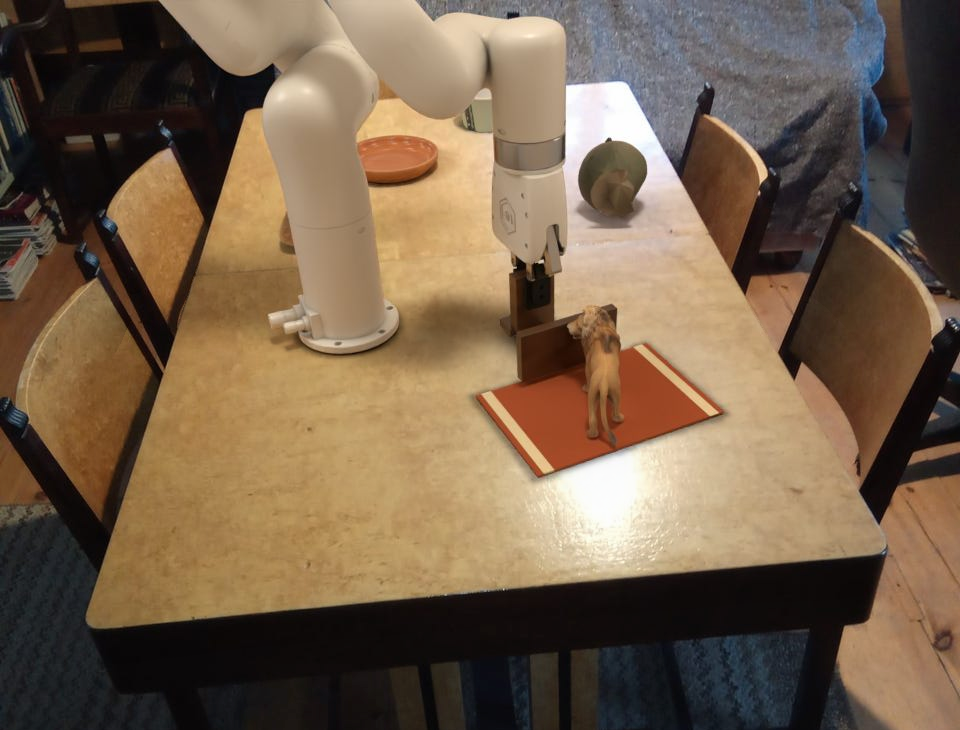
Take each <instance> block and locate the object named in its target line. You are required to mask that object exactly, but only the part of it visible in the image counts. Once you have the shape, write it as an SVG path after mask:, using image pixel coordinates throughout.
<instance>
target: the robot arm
mask: <svg viewBox="0 0 960 730" xmlns="http://www.w3.org/2000/svg"><path fill="white" fill-rule="evenodd" d="M158 1H159V3H160V4H161V5H162V6H163V7H164V8H165V10H166V11H167V12H168V13H169V14H170V15H171V16H172V17H173V19H175V21H176V22H177V23H178V24H179V25H180V26H181V27H182V29H183V30H184V31H186V33H187V34H188V35H189V36H190V37H191V39H192V40H193V41H195V43H196V44H197V45H198V47H200V48H201V50H202V51H203V52H204V53H205V54H206V55H207V56H208V57H209V59H211V61H213V62H214V63H215V65H217V66H218V67H219V68H221V69H222V70H224V71H225V72H227V73H229V74H231V75H235V76H239V77H246V76H247V77H248V76H252V75H256V74H258V73H261V72H262V71H264V70H265V69H266V68H268V67H270V66H271V65H272V64H273V65H274V66H275V67H276V68H277V69H278V71H279V72H280V73H281V74H280V75H279V76H278V77H277V78H276V79H275V81H274V82H273V83H272V84H271V86H270V87H269V89H268V91H267V93H266V96H265V98H264V101H263V105H262V110H261V124H262V131H263V135H264V139H265V141H266V145H267V147H268V150H269V153H270V154H271V155H270V156H271V158H272V160H273V162H274V166H275V168H276V171H277V175H278V179H279V183H280V186H281V190H282V194H283V199H284V204H285V209H286V210H287V214H288V218H289V223H290V228H291V233H292V238H293V243H294V247H293V248H294V253H295V258H296V263H297V268H298V274H299V277H300V284H301V288H302V294H298V296H297V298H298V302H299V303H297V304H293V305H292V308H289V309H285V310H279V311H275V312H271V313H268V314H267V319H268V323H269V326H270V328H271V330H276V329H280V328H283V329H284V333H285V335H286V336H287V335H290V334H294V333H298V337H299V339H300V340H301V342H302V343H303V344H304V345H306V346H307V347H308V348H310V349H312V350H315V351H318V352H321V353H327V354H336V355H343V354H344V355H345V354H352V353H359V352H364V351H367V350H370V349H373V348H375V347H378V346H379V345H381V344H383V343H385V342H386V341H388V340H389V339H390V338H392V336H394V334H395V333H396V332H397V330H398V328H399V325H400V314H399V311H398V309H397V307H396V305H394V304H393V303H392V302H391V301H389V300H387V299H385V297H384V296H385V295H384V290H383V282H382V274H381V269H380V268H381V267H380V260H379V252H378V245H377V237H376V229H375V223H374V222H375V221H374V214H373V207H372V203H371V195H370V188H369V183H368V182H369V181H367V178H366V174H365V170H364V167H363V164H362V161H361V159H360V156H359V152H358V149H357V143H358V142H357V134H358V133H359V131H360V130H361V128H362V127H363V125H364V124H365V122H366V121H367V120H368V119H369V117H370V116H371V114H372V113H373V112H374V110H375V108H376V106H377V103H378V100H379V97H380V80H379V78H380V79H381V81H382V82H383V83H384V84H385V85H386V86H387V87H388V88H389V89H390V90H391V91H392V92H393V93H394V95H396V96H397V97H398V99H400V100H401V101H402V102H403V103H404V104H405V105H406V106H408V107H409V108H410V109H412V110H413V111H415V112H416V113H418V114H419V115H422V116H423V117H426V118H429V119H432V120H438V121H439V120H440V121H442V120H443V121H444V120H449V119H450V120H451V119H453V118H456V117H458V116H460V115H461V113H463V112H464V111H465V110H466V109H467V108H468V107H469V106H470V105H471V103H472V102H473V100H474V99H475V97H476V95H477V94H478V92H479V91H480V90H482V89H484V88H486V89H489V90H490V92H491V98H492V120H493V132H492V143H493V166H492V177H491V230H492V233H493V235H494V236H495V238H496V239H497V240H498V241H499V242H500V243H502V244H503V246H505V248H507V249H508V250H509V252H510V263H511V266H512V267H513V268H512V272H516V271H520V270H523V269H526V272H527V278H524V279H523V280H524V308H525V309H526V310H532V309H536V308H539V307H543V306H546V305H549V304H550V302H551V276H552V275H554V276H555V275H557V274H562V272H563V266H562V261H561V257H563V256H564V255H565V254H566V251H567V249H568V248H567V247H568V208H567V207H568V205H567V202H568V201H567V192H566V191H567V190H566V182H565V173H564V167H563V166H564V165H565V163H566V151H567V150H566V145H567V144H566V143H567V142H566V141H567V139H566V138H567V137H566V136H567V129H566V128H567V117H566V116H567V114H566V113H567V35H566V31H565V29H564V27H563V26H562V24H561V23H560V22H558V21H556V20H555V19H552V18H548V17H544V16H517V17H513V18H509V19H508V18H499V17H493V16H487V15H481V14H476V13H468V12H449V13H446V14H443V15H441V16H438V18H436V19H435V20H433V19H431V17H430V16H429V15H428V14H427V13H426V12H425V10H424V9H423V8H422V6H420V3H418V1H416V0H327V2H328V4H327V2H326V1H325V0H158ZM540 261H543V262H540ZM539 262H540V263H539Z"/></svg>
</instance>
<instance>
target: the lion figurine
mask: <svg viewBox="0 0 960 730" xmlns="http://www.w3.org/2000/svg"><path fill="white" fill-rule="evenodd" d="M600 307H601V306H599V305H598V306H597V305H587V306H586V307H585V308H583V310H582V312H583V315H580V316H579V317H578V319H577V320H575V321H573V322H571V323H569V324H568V325H567V327H568V329H569V332H570V334H572V335H573V338H574V339H582V341H581V343H582V346H583V347H584V355H585V358H586V367H585V373H586V377H587V384H585V385H584V387H583V388H582V390H583V391H584V392H587V393H588V410H589V425H590V429H589V430H588V431H587V435H588V437H589V438H595V437H597V436H598V430H597V418H596V409H597V406H598V403H599V400H600V409H601V420H602V424H603V427H604V429H605V432H606V433H607V435H608V438H609V442H611V443H612V444H613V445H617V440H616V438H615V436H614V434H613V433H612V432H611V430H610V428H609V426H608V423H607V416H606V399H607V398H608V399H609V401H610V403H611V405H612V416H613V420H614V421H615V422H622V421H623V420H624V416H623V414H621V413H619V406H620V399H621V391H620V379H619V374H618V370H619V353H620V351H622V349H621V348H622V343H621V336H620V335H619V333H618V332H617V327H615V324H614V322H613V321H612V320H611V319H610V316H609V315H608V313H607V312H606V311H605V310H603V309H601V308H600Z"/></svg>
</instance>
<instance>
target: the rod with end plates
mask: <svg viewBox="0 0 960 730" xmlns="http://www.w3.org/2000/svg"><path fill="white" fill-rule="evenodd" d="M524 278H527V272H526V269H523V270H520V271H516V272H513V271H512V272H509V273H508V288H509V312H510V313H509V315H507V316H503V317H500V318H499V319H498V322H499V327H500V328H501V329H502V330H503V331H504V333H506V334H507V335H508V336H509V338H512V337H514V336H515V339H516V369H517V370H516V371H517V372H516V373H517V378H518V380H519V382H526V381H529V380H532V379H535V378H538V377H542V376H545V375H548V374H551V373H554V372H557V371H561V370H564V369H567V368H570V367H573V366H576V365H579V364H583V363H586V358H585V355H584V347H583V346H582V343H581V341H582V339H574V338H573V335H572V334H570V332H569V329H568V327H567V325H568V324H569V323H571V322H573V321H575V320H577V319H578V317H579V316H580V315H583V311H582V312H580V313H579V312H578V313H576V314H572V315H569V316H565V317H561V318H559V319H556V317H555V274H554V275H552V276H551V302H550V304H549V305H546V306H543V307H539V308H536V309H532V310H526V309H525V308H524V280H523V279H524ZM599 307H600V308H601V309H603V310H605V311H606V312H607V313H608V315H609V316H610V319H611V320H612V321H613V322H614V324H615V327H616V328H617V325H618V307H617V306H615V305H614V304H613V303H609V304H605V305H603V306H599ZM555 319H556V320H555Z"/></svg>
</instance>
